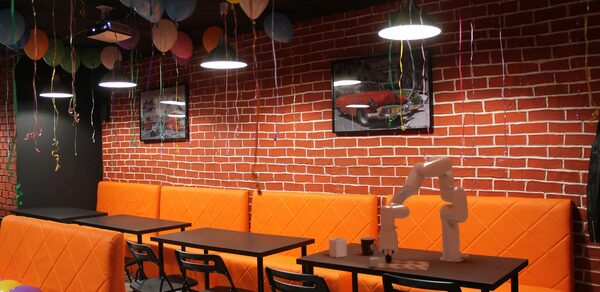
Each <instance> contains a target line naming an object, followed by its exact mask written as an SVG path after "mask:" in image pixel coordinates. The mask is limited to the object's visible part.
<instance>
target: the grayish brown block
mask: <svg viewBox="0 0 600 292" xmlns="http://www.w3.org/2000/svg"><path fill="white" fill-rule="evenodd" d="M378 263H383V264H386V256H370V258H369V268H377V264H378Z"/></svg>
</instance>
